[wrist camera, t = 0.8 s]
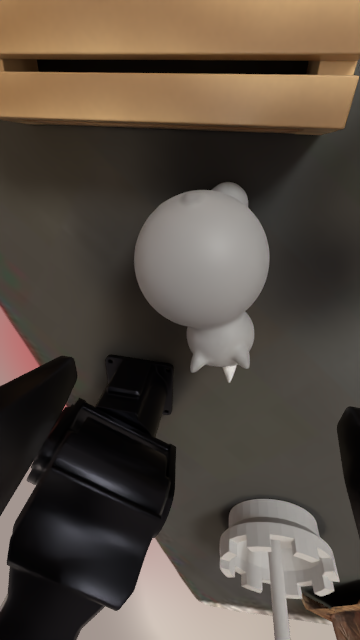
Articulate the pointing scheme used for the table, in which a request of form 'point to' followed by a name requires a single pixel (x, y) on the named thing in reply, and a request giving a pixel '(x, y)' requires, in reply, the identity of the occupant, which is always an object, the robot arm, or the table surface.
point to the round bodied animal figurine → (205, 271)
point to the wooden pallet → (181, 44)
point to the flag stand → (277, 554)
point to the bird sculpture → (338, 618)
